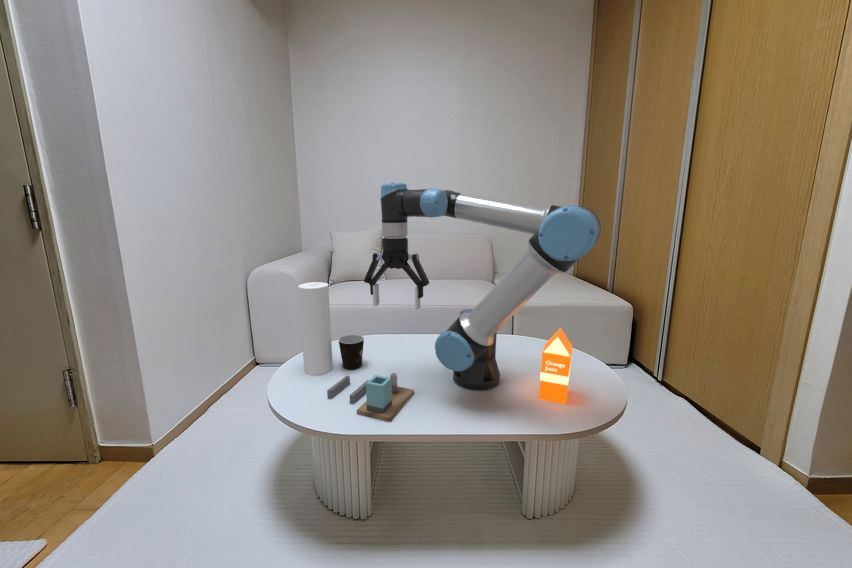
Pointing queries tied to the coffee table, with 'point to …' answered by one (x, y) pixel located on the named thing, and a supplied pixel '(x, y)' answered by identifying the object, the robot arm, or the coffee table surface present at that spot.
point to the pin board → (398, 401)
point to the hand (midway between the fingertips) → (396, 306)
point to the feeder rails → (344, 383)
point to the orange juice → (555, 368)
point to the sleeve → (379, 394)
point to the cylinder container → (315, 327)
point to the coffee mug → (351, 351)
